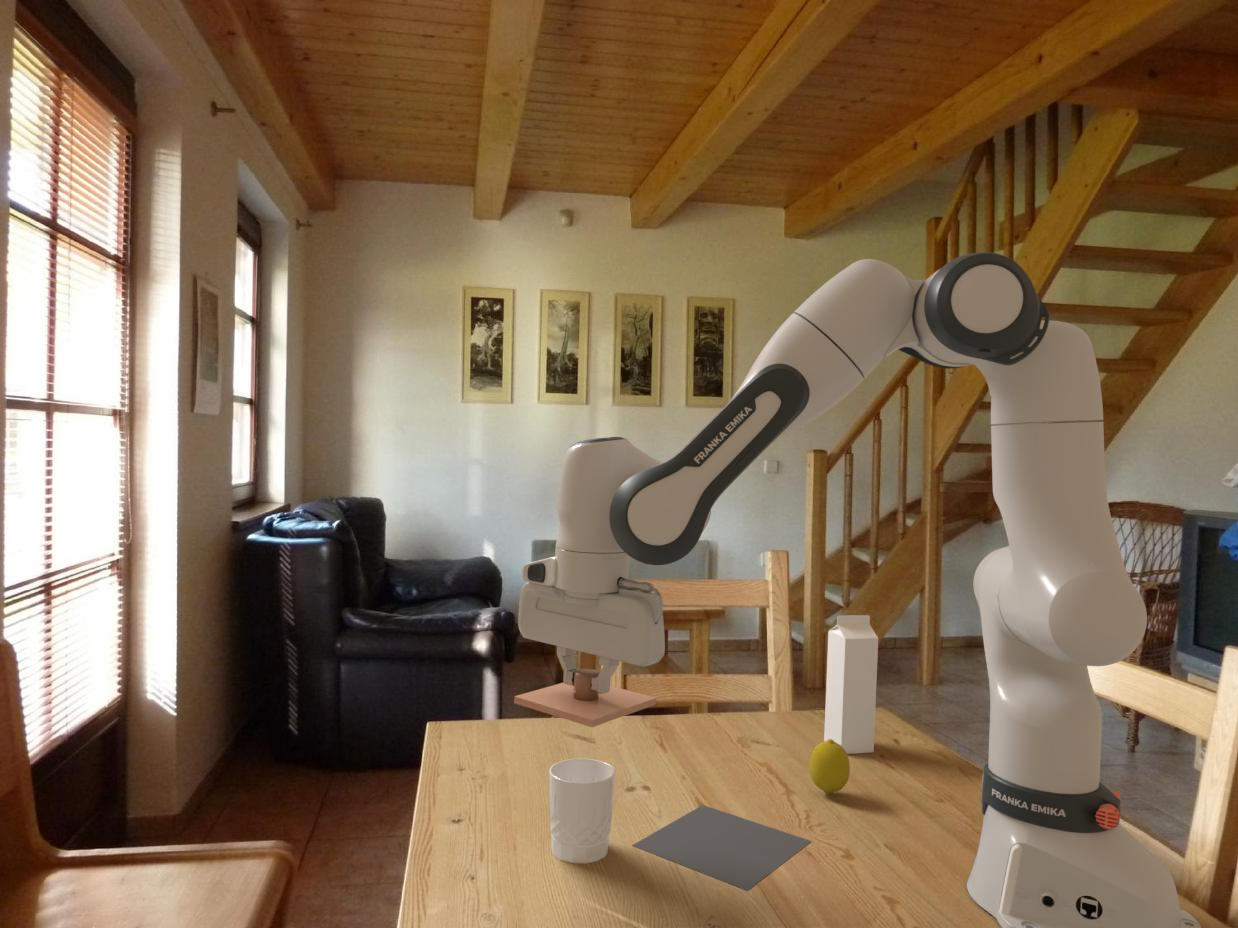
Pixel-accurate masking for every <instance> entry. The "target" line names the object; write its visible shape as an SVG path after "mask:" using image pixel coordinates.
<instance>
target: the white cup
mask: <svg viewBox="0 0 1238 928" xmlns="http://www.w3.org/2000/svg"><path fill="white" fill-rule="evenodd" d="M548 771H549V773H548V774H549V817H550V818H549V823H550V824H549V825H550V827H549V828H550V833H551V835H550V836H551V837H550V839H551V841H550V843H551V844H550V845H551V848H550V849H551V853H552V854H553V855H552V856H554V857H555V858H557V859H559V860H560V861H562V862H567V863H571V864H589V863H594V862H598V861H600V860H602V859H604V858H605V857H607V854H608V852H609V843H610V833H611V828H612V817H613V808H614V797H615V796H614V793H615V785H616V784H615V783H616V781H615V780H616V768H615V767H614V766H613V765H611V764H609V763H607V762H605V761H602V760H599V759H593V758H570V759H564V760H560V761H558V762H555V763H554V764H552V765H550V767H549V770H548Z"/></svg>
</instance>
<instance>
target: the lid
mask: <svg viewBox="0 0 1238 928" xmlns="http://www.w3.org/2000/svg"><path fill="white" fill-rule="evenodd" d="M578 669H579V670H576V671H575V672H574V686H571V685H567V684H564V682H560V683H557V684H553V685H550V686H546V687H542V688H539V689H536V690H531V691H528V692H525V693H521V694H518V695H515V696H514V698H513V704H515V705H518V706H522V707H525V708H529V709H532V710H534V711H538V712H542V713H544V714H547V715H548V714H549V715H551V716H554V717H557V718H561V719H564V720H567V721H571V722H573V723H576V724H580V725H583V726H587V727H589V728H595V727H597V726H600V725H604V724H605V723H608V722H611V721H615V720H617V719H619V718H622V717H625V716H628V715H631V714H634V713H636V712H639V711H642V710H644V709H647V708H650V707H653V706H656V704H657V698H656V697H653V696H650V695H647V694H643V693H638V692H636V691H631V690H628V689H624V688H620V687H616V686H613V685H610V690H609V692H608V693H605V694H599V693H596V692H593V691H592V690H591V686H592V683H591V682H592V677H595V676H598V675H599V673H600V671H599V670H597V669H591V668H589V669H588V668H578Z"/></svg>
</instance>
